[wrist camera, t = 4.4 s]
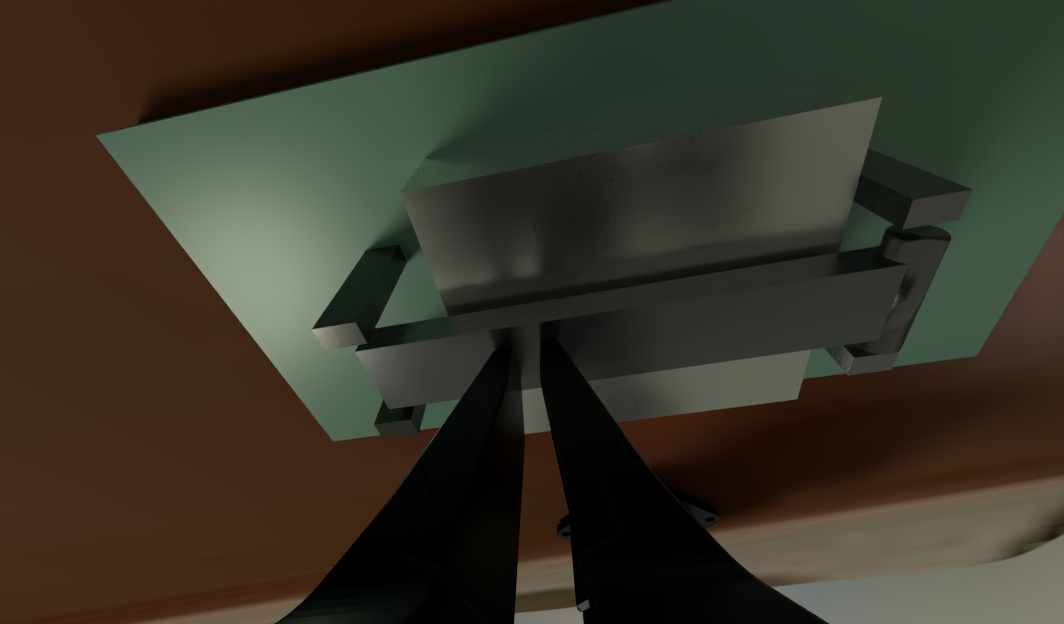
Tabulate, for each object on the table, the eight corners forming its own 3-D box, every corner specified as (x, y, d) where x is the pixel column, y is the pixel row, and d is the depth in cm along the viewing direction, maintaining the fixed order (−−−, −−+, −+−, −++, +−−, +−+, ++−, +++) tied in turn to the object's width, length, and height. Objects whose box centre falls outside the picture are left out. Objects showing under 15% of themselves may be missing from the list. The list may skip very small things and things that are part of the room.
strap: (923, 219, 8) (966, 241, 8) (882, 323, 10) (913, 351, 9) (360, 314, 10) (345, 341, 9) (403, 393, 11) (394, 422, 11)
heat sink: (878, 64, 9) (1046, 88, 6) (806, 338, 14) (881, 426, 11) (331, 177, 10) (253, 241, 7) (434, 391, 15) (411, 482, 12)
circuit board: (1189, -123, 8) (1279, -142, 7) (947, 333, 15) (976, 356, 14) (135, 124, 11) (95, 135, 10) (343, 417, 18) (333, 441, 17)
